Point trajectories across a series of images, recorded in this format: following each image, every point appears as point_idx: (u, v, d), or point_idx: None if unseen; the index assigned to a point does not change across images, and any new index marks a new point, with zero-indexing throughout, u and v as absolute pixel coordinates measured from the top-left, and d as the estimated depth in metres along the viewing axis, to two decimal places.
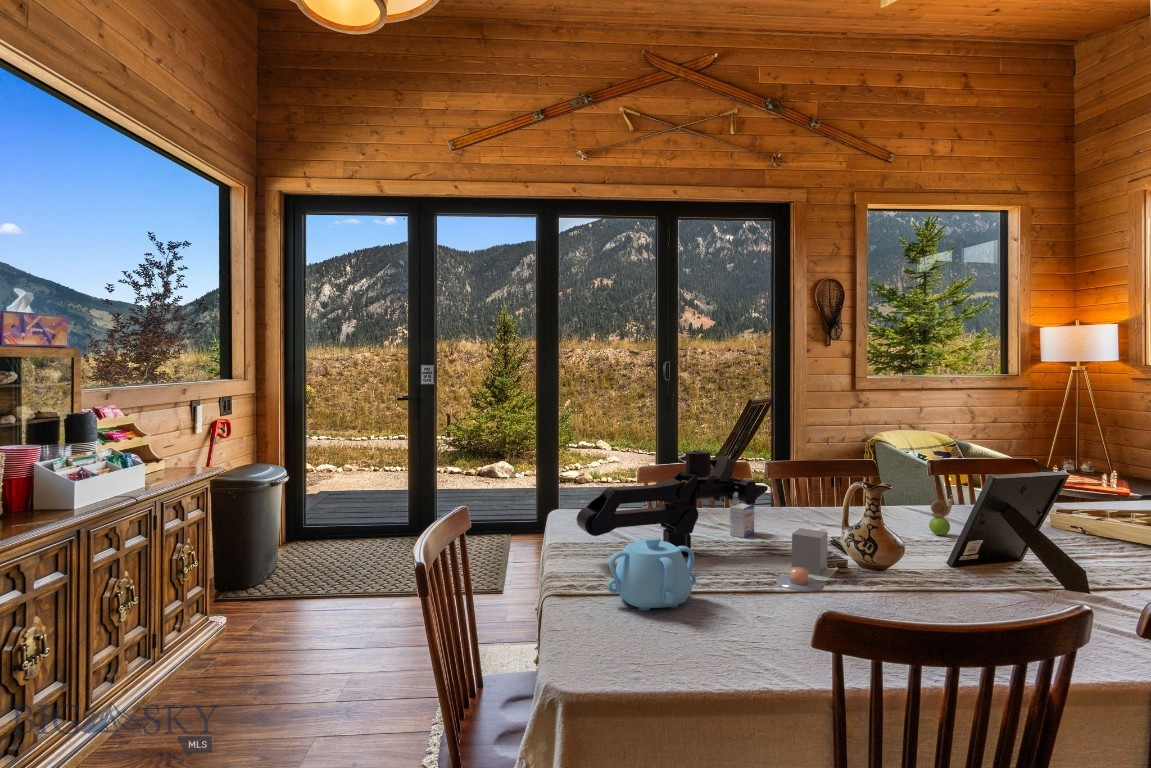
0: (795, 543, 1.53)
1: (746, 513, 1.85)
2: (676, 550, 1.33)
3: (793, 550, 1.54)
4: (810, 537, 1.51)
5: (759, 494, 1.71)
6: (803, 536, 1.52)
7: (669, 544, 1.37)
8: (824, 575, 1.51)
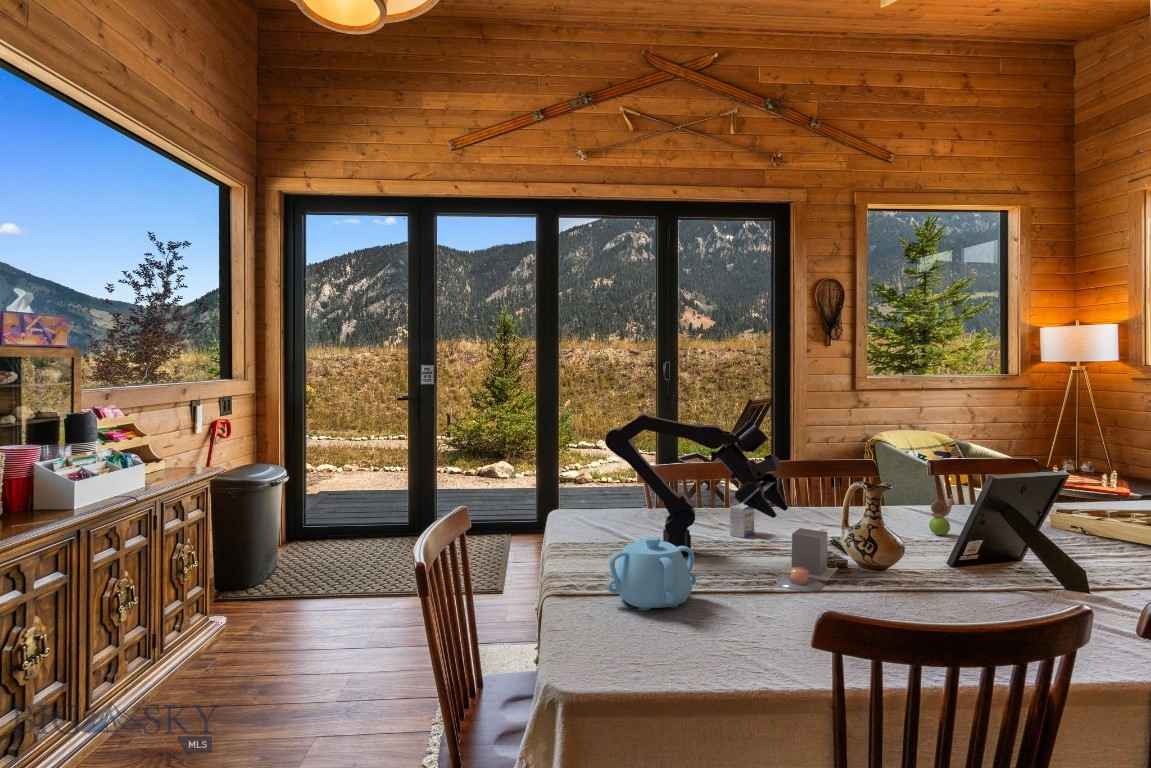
0: (795, 543, 1.53)
1: (746, 513, 1.85)
2: (676, 550, 1.33)
3: (793, 550, 1.54)
4: (810, 537, 1.51)
5: (760, 509, 1.56)
6: (803, 536, 1.52)
7: (669, 544, 1.37)
8: (824, 575, 1.51)
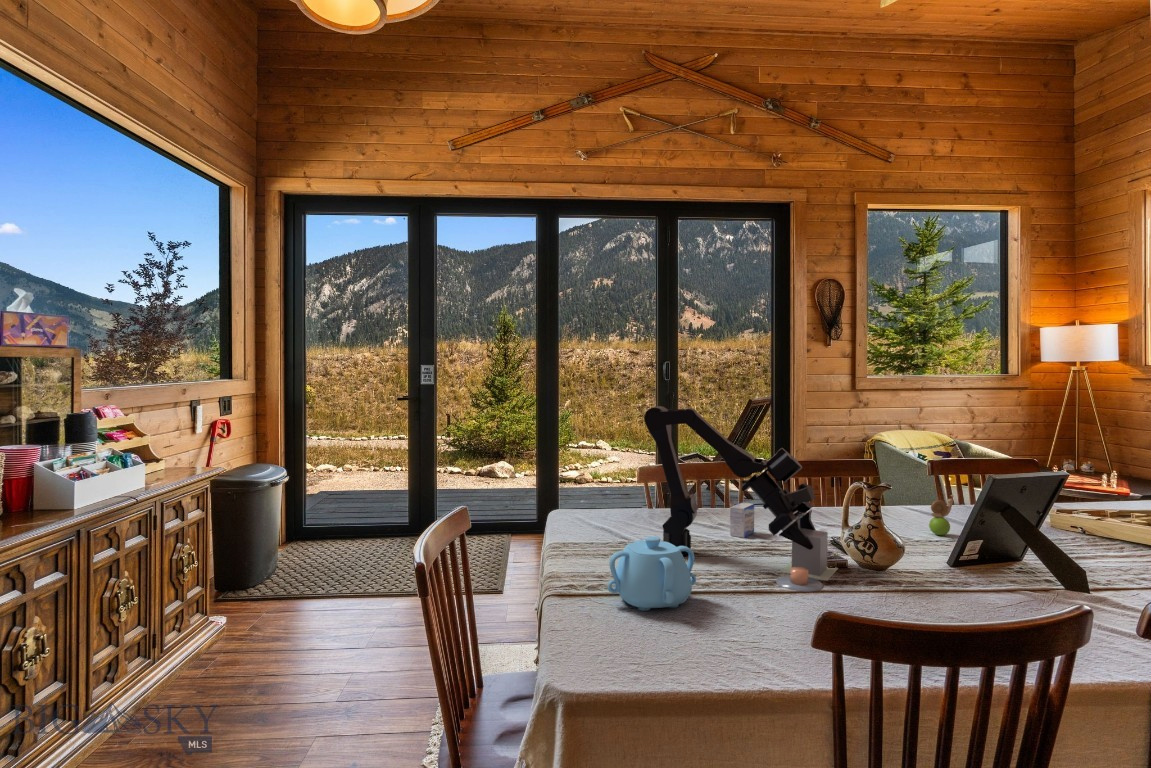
0: (795, 543, 1.53)
1: (746, 513, 1.85)
2: (676, 550, 1.33)
3: (793, 550, 1.54)
4: (810, 537, 1.51)
5: (796, 541, 1.52)
6: None
7: (669, 544, 1.37)
8: (824, 575, 1.51)
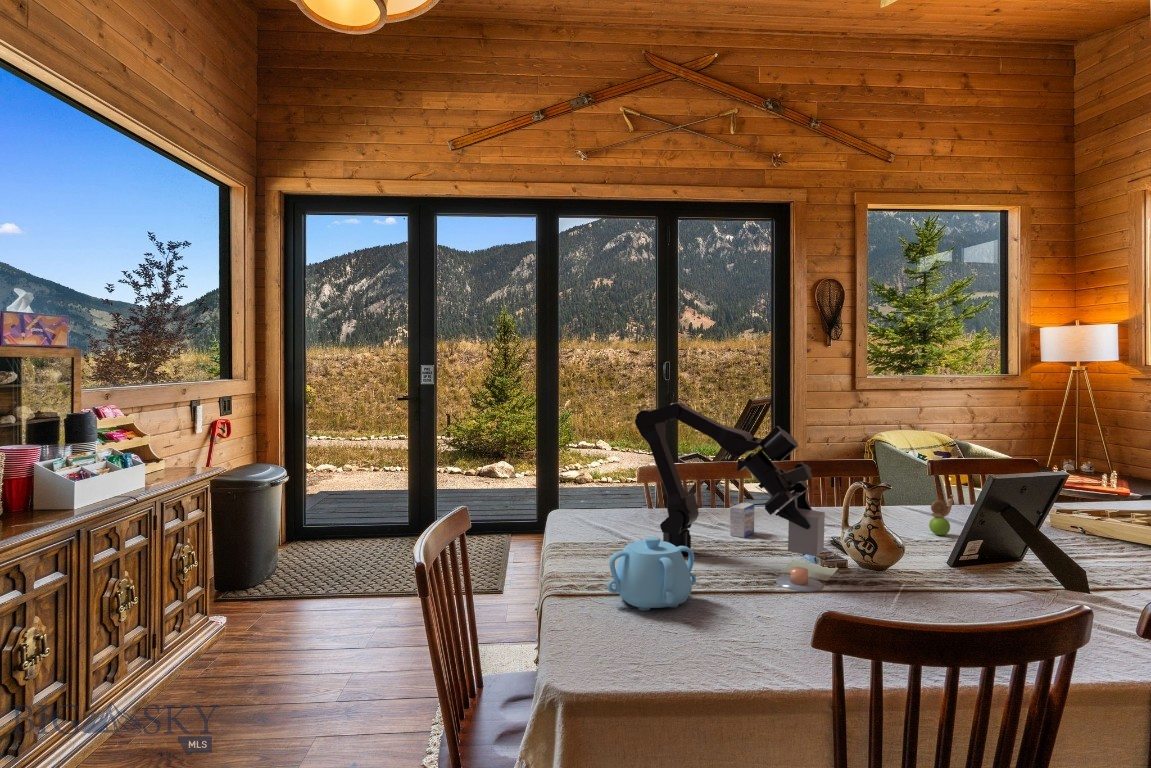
0: (792, 523, 1.49)
1: (746, 513, 1.85)
2: (676, 550, 1.33)
3: (790, 530, 1.50)
4: (807, 516, 1.48)
5: (793, 520, 1.48)
6: None
7: (669, 544, 1.37)
8: (824, 575, 1.51)
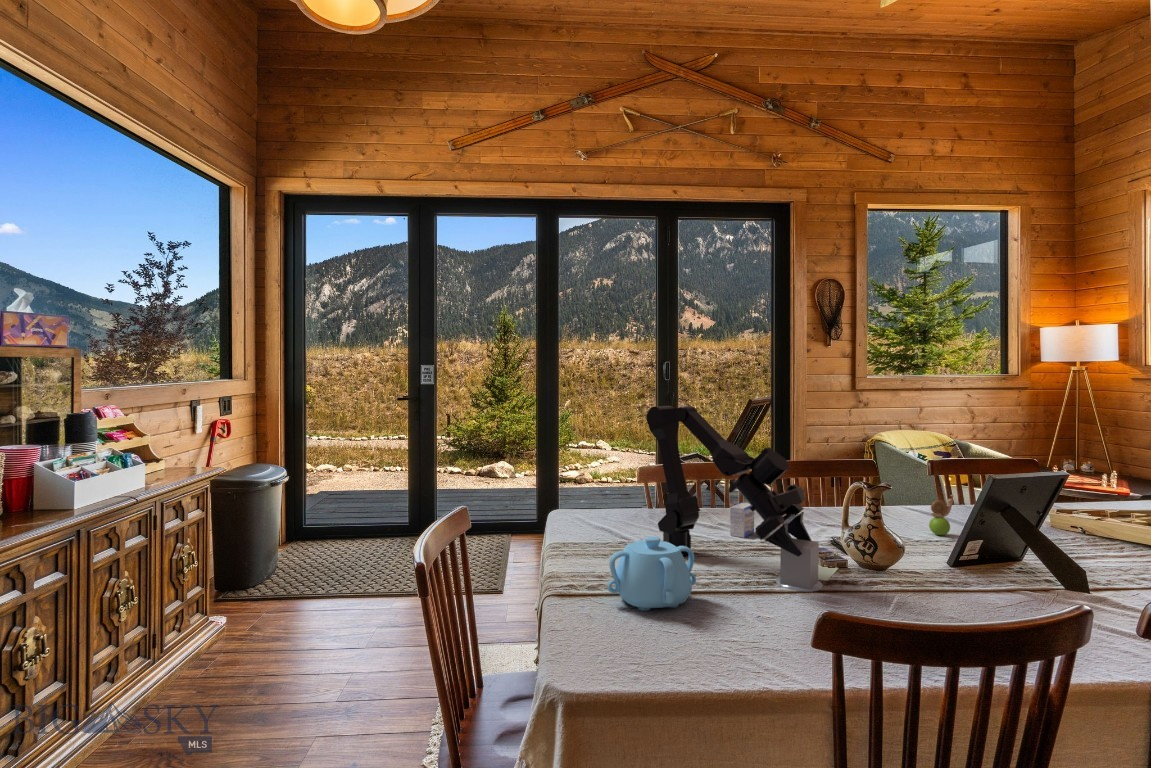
0: (784, 554, 1.44)
1: (746, 513, 1.85)
2: (676, 550, 1.33)
3: (782, 562, 1.44)
4: (800, 548, 1.42)
5: (783, 547, 1.41)
6: None
7: (669, 544, 1.37)
8: (824, 575, 1.51)
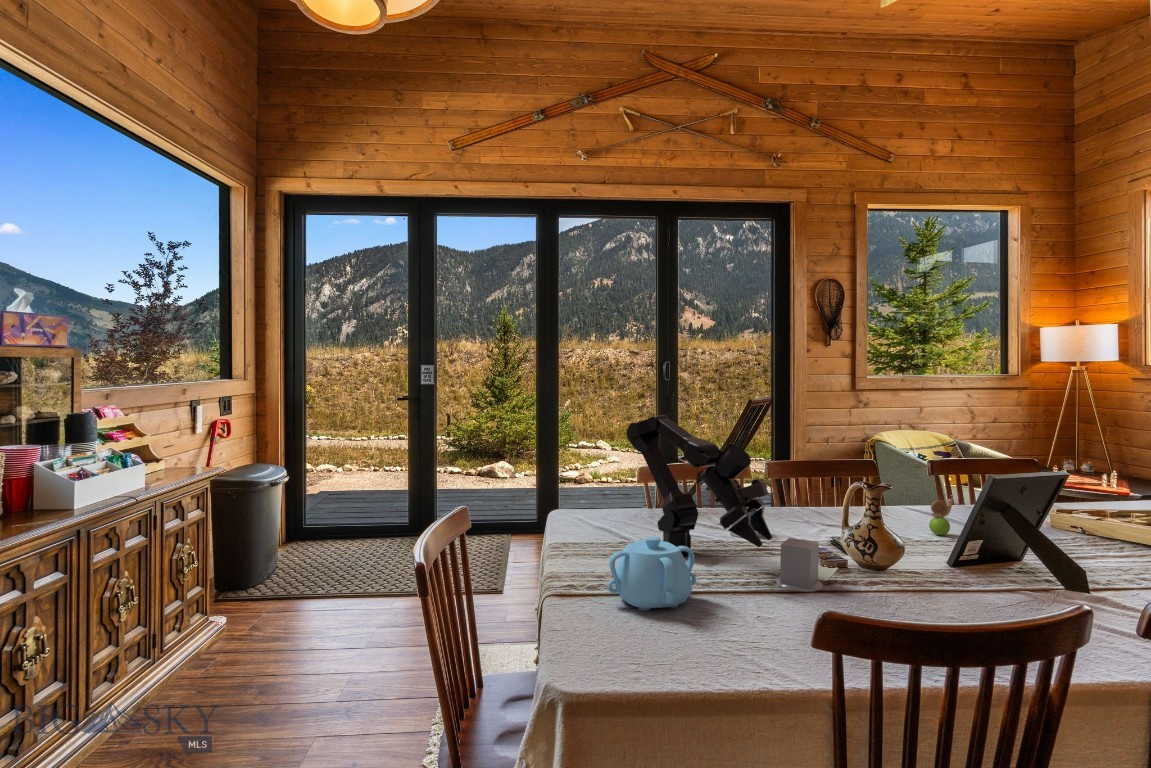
0: (784, 554, 1.44)
1: None
2: (676, 550, 1.33)
3: (782, 562, 1.44)
4: (800, 548, 1.42)
5: (745, 537, 1.46)
6: (792, 547, 1.43)
7: (669, 544, 1.37)
8: (824, 575, 1.51)
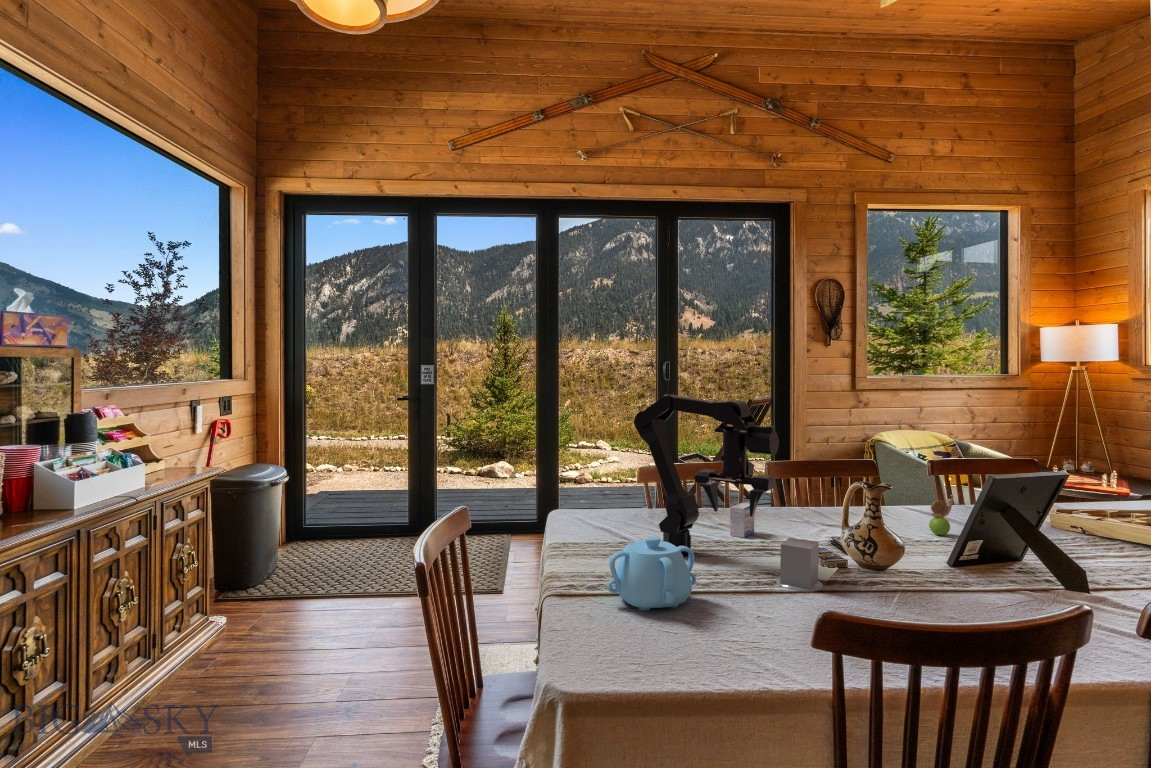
0: (784, 554, 1.44)
1: (746, 513, 1.85)
2: (676, 550, 1.33)
3: (782, 562, 1.44)
4: (800, 548, 1.42)
5: (754, 504, 1.54)
6: (792, 547, 1.43)
7: (669, 544, 1.37)
8: (824, 575, 1.51)
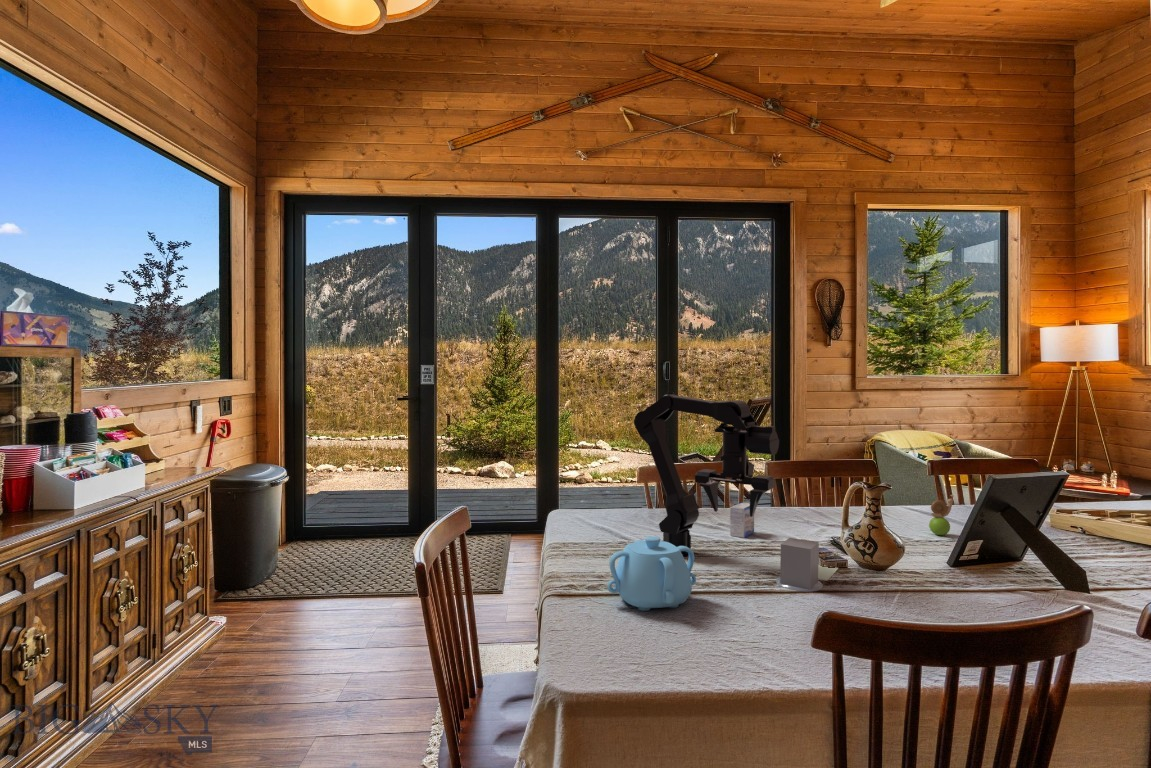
0: (784, 554, 1.44)
1: (746, 513, 1.85)
2: (676, 550, 1.33)
3: (782, 562, 1.44)
4: (800, 548, 1.42)
5: (754, 504, 1.54)
6: (792, 547, 1.43)
7: (669, 544, 1.37)
8: (824, 575, 1.51)
